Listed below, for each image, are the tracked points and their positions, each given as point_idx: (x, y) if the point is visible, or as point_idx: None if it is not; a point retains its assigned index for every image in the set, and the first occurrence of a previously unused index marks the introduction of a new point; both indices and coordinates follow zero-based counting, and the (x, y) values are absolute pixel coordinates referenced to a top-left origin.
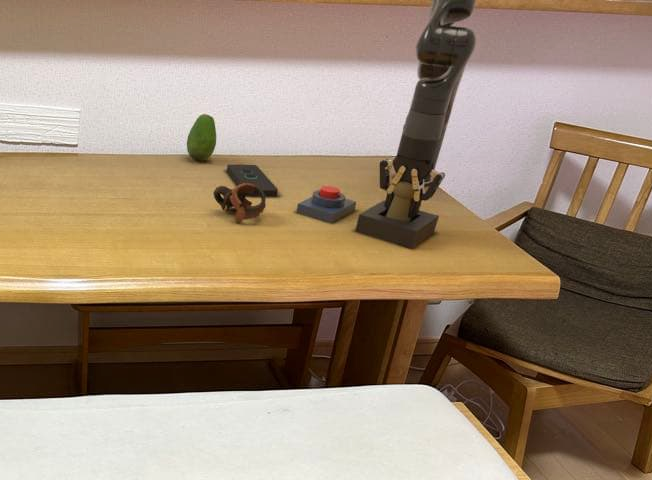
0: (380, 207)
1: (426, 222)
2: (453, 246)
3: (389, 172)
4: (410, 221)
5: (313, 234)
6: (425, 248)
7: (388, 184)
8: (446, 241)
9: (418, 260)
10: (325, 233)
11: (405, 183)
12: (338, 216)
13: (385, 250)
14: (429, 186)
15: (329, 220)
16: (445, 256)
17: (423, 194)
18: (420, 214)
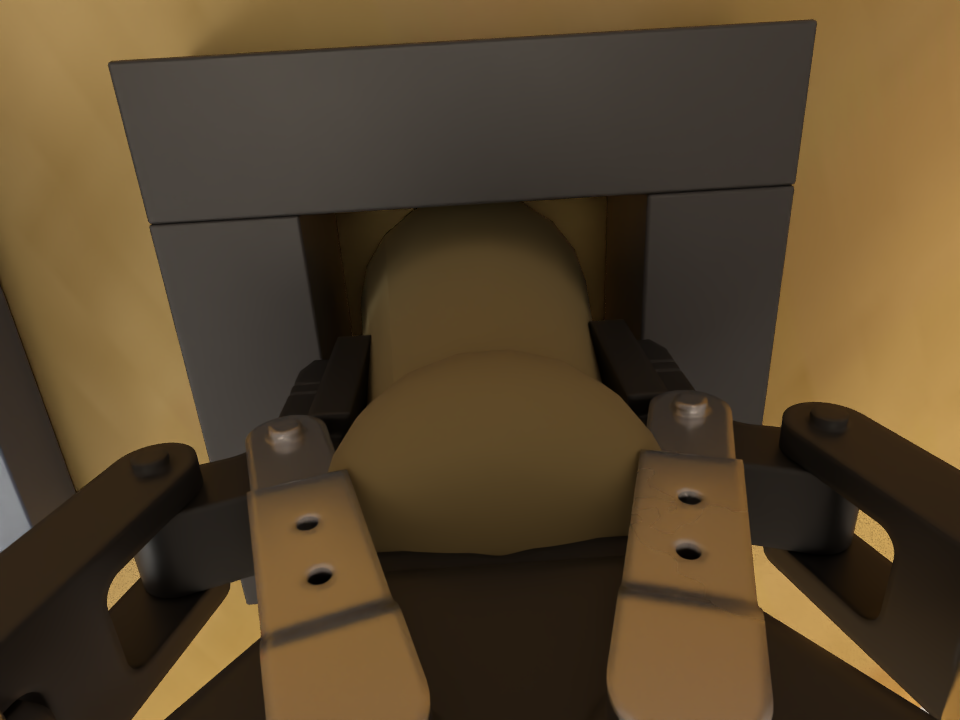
0: (245, 323)
1: (756, 340)
2: (945, 198)
3: (55, 600)
4: (591, 320)
5: (165, 711)
6: (769, 403)
7: (219, 550)
8: (876, 136)
9: (784, 592)
10: (192, 657)
11: None
12: (35, 435)
13: None
14: (902, 682)
15: None
16: (918, 423)
17: (765, 536)
18: (635, 172)
